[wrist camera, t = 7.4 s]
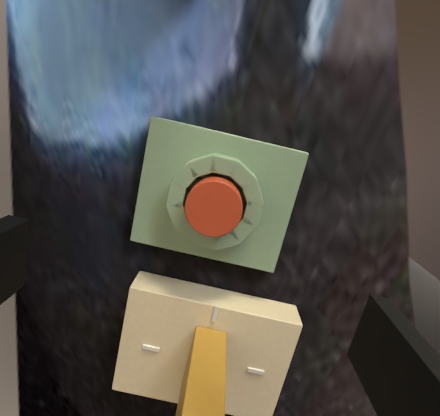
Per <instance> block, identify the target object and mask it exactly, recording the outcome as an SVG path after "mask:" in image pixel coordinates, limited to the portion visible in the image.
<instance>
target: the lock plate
mask: <svg viewBox="0 0 440 416" xmlns="http://www.w3.org/2000/svg"><path fill="white" fill-rule="evenodd" d="M196 326H201V327H205V328H210V329H214V330H218V331H223V332H226V333H227V345H226V393H225V414H229V415H234V416H272V415H273V412H274V409H275V407H276V404H277V401H278V398H279V395H280V392H281V389H282V386H283V383H284V380H285V377H286V374H287V371H288V368H289V365H290V362H291V359H292V356H293V353H294V350H295V347H296V344H297V341H298V338H299V335H300V332H301V329H302V327H303V325H302V322H301V319H300V316H299V313H298V311H297V308H296V306H295V305H291V304H286V303H282V302H277V301H273V300H268V299H264V298H259V297H255V296H251V295H246V294H242V293H237V292H233V291H228V290H224V289H219V288H215V287H210V286H206V285H201V284H197V283H192V282H188V281H184V280H179V279H175V278H170V277H166V276H161V275H157V274H152V273H148V272H143V271H139V273H138V274H137V276H136V278H135V279H134V281H133V283H132V284H131V286H130V288H129V294H128V300H127V305H126V311H125V317H124V322H123V328H122V334H121V339H120V345H119V351H118V356H117V362H116V368H115V374H114V379H113V385H112V390H117V391H121V392H126V393H131V394H135V395H140V396H145V397H149V398H154V399H159V400H163V401H168V402H173V403H177V404H178V400H179V395H180V389H181V384H182V380H183V376H184V373H185V369H186V365H187V361H188V357H189V353H190V349H191V345H192V341H193V337H194V333H195V329H196Z"/></svg>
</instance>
